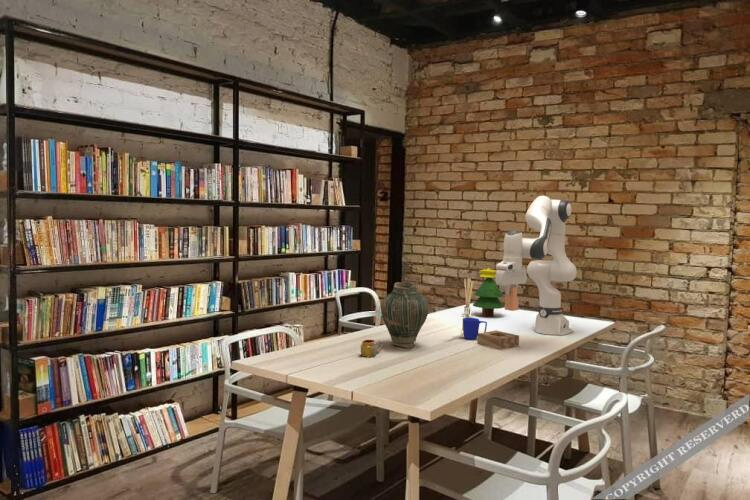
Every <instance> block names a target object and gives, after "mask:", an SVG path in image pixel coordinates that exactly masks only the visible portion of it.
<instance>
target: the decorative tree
mask: <svg viewBox="0 0 750 500" xmlns="http://www.w3.org/2000/svg"><path fill="white" fill-rule="evenodd" d="M497 270H498V269H496V270H494V269H491V268H490V267H488V268H486V269H485V268H484V269H480V270H478V272H479V273H481V274H480V275H479V277H483V278H485V280H484V281H483V282H482V283H481V285H480V286H479V287H478V289H477V290H476V291H475V292H474V294H473V295H474V296H476V297H478V298H477V299H476V300H475V302H474V303H473V304H472V307H475V308H479V309H481V317H485V318H492V317H494V315H495V310H498V309H505V305H503V303H502V302H501V301H500V299H499V298H502V297H504V294H503V293H502V291H501V289H500V288H499V285H497V284H496V281H495V280H494V279H493V278H496V271H497Z"/></svg>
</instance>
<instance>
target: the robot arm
mask: <svg viewBox="0 0 750 500" xmlns="http://www.w3.org/2000/svg"><path fill="white" fill-rule="evenodd" d="M572 208H573V207H572V204H571V202H570V201H569V200H565V199H551V198H550V197H549V196H546V195H538V196H537V197H536V198H535V199H534V200H533V201H532V203H531V204H530V206H529V207H528V209H527V211H526V213H525V218H524V219H525V221H526V224H527V226H528V227H530V228H532V229H533V230H536V231H539V232H540V233H539V236H538V237H536V238H528V237H523V233H522V231H519V230H510V231H507V232H506V233H505V234H504V239H503V257H502V261H500V262H498V263H497V264H495V269H496V270H497V271H496V273H495V275H496V277H495V283H496V285H497V286H498V287H499V286H502V287H504V289H505V290H506V294H508V295H509V294H511V291H510V290H509V287H510V286H512V287H517V289H518V287H519V285H524V284H525V285H526V283H527V281H528V278H527V277H529V278H530V279H531V280H533V282H534V283H535V285H536V286H537V289H538V297H539V301H538V302H539V304H538V306H537V312H538V313H537V314H536V317H535V325H534V327H533V328H532V329H533V330H534V332H535V333H538V334H543V335H549V336H550V335H551V336H555V335H556V336H566V335H569V334H571V333H573V332H574V329H572V328H570V321H569V320H568V318H566V316H564V314H563V312H565V311H566V308H565V307H564V306H561V305H562V304H561V303H562V301H561V300H562V294H561V291H560V290H558V289H557V288H556V287H554V286H553V285H552V284H551V282H557V283H558V282H559V283H560V282H561V283H566V282H572V281H574V280H575V279H576V276H577V271H578V270H577V267H576V265H575V264H574V263H573V262H572V261H571V260H570V259H569V258H568V256H567V254H566V250H565V249H566V247H565V246H566V245H565V243H566V240H565V239H566V221H567V220H569V218H570V217H571V216H572V212H573V211H572ZM547 255H550V256H552V258H553V259H552V260H545V259H544V258H545V257H546V256H547ZM523 259H532V260H531V261H530V262H529V263H528V265H527V268H526V266H525V265H524V264H523ZM543 259H544V260H543ZM527 275H528V276H527Z"/></svg>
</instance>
